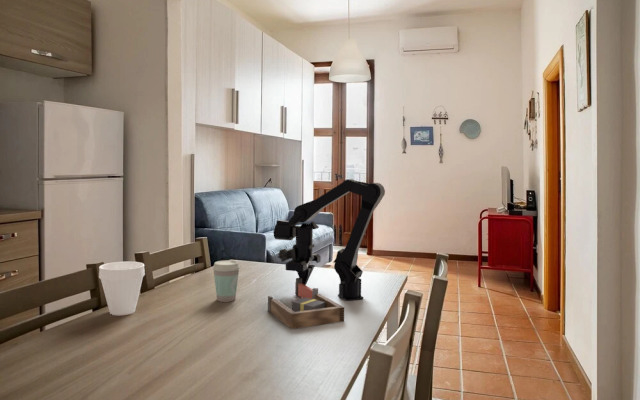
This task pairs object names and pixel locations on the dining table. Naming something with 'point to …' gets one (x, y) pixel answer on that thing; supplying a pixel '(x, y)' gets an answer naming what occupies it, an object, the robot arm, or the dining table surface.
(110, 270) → the cup
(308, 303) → the grey taped parcel
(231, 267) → the coffee cup
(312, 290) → the gate
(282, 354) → the dining table surface
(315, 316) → the tan frame
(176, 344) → the dining table surface
